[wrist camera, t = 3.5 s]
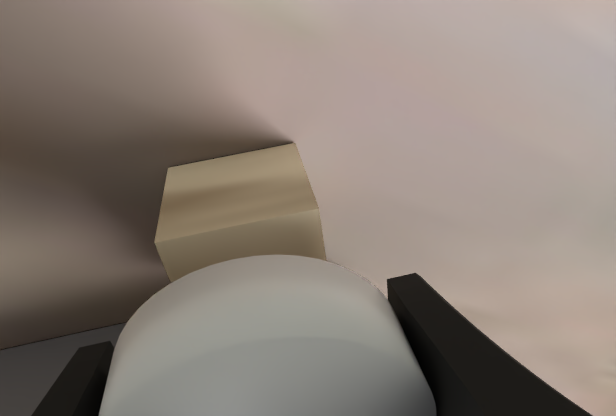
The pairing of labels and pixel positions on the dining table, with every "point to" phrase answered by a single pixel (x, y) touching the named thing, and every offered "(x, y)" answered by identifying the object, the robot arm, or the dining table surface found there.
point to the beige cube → (237, 211)
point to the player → (41, 367)
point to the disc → (266, 346)
